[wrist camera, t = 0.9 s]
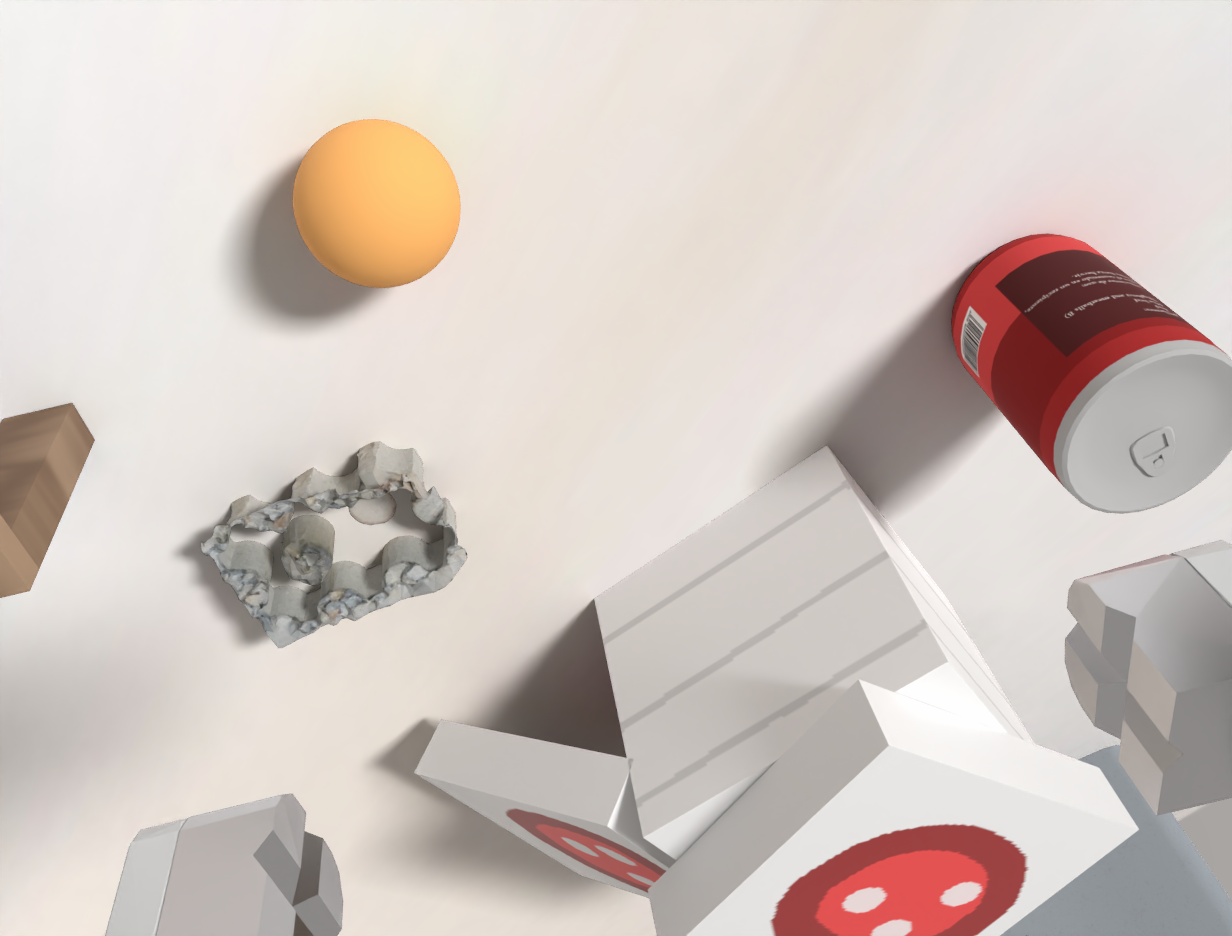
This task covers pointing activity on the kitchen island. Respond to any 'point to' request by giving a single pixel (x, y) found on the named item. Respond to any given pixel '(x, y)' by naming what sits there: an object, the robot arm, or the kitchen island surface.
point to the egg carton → (312, 543)
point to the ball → (376, 203)
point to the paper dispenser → (797, 742)
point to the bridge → (36, 487)
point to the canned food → (1095, 373)
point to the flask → (1136, 880)
